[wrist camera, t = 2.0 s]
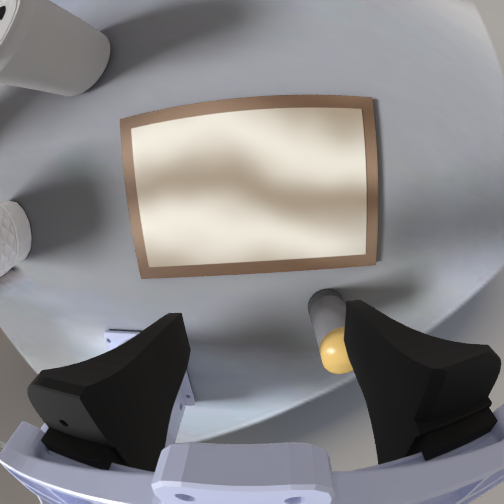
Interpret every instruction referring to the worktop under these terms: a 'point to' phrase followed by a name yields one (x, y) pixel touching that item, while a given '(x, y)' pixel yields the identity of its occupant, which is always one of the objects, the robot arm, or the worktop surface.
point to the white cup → (13, 235)
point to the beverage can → (49, 48)
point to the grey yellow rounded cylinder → (330, 329)
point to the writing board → (252, 185)
